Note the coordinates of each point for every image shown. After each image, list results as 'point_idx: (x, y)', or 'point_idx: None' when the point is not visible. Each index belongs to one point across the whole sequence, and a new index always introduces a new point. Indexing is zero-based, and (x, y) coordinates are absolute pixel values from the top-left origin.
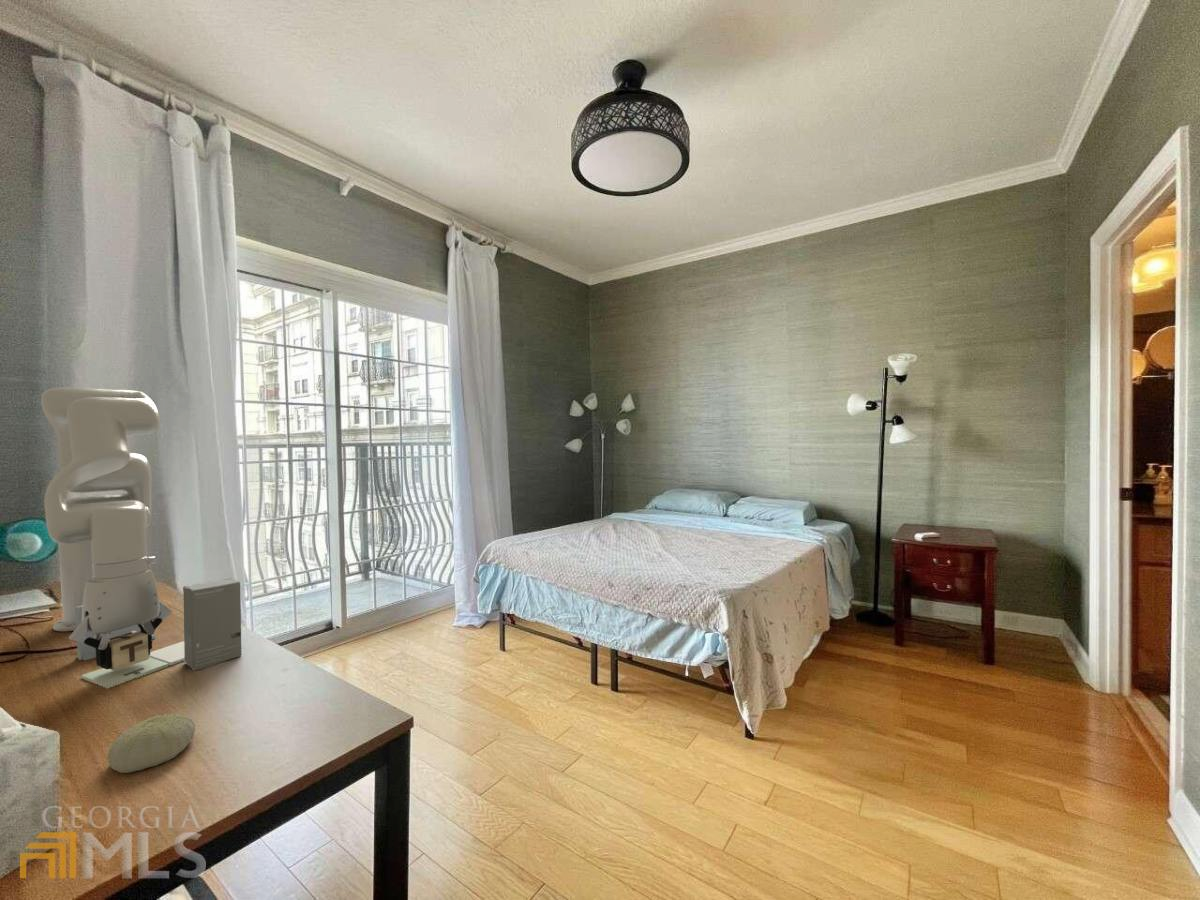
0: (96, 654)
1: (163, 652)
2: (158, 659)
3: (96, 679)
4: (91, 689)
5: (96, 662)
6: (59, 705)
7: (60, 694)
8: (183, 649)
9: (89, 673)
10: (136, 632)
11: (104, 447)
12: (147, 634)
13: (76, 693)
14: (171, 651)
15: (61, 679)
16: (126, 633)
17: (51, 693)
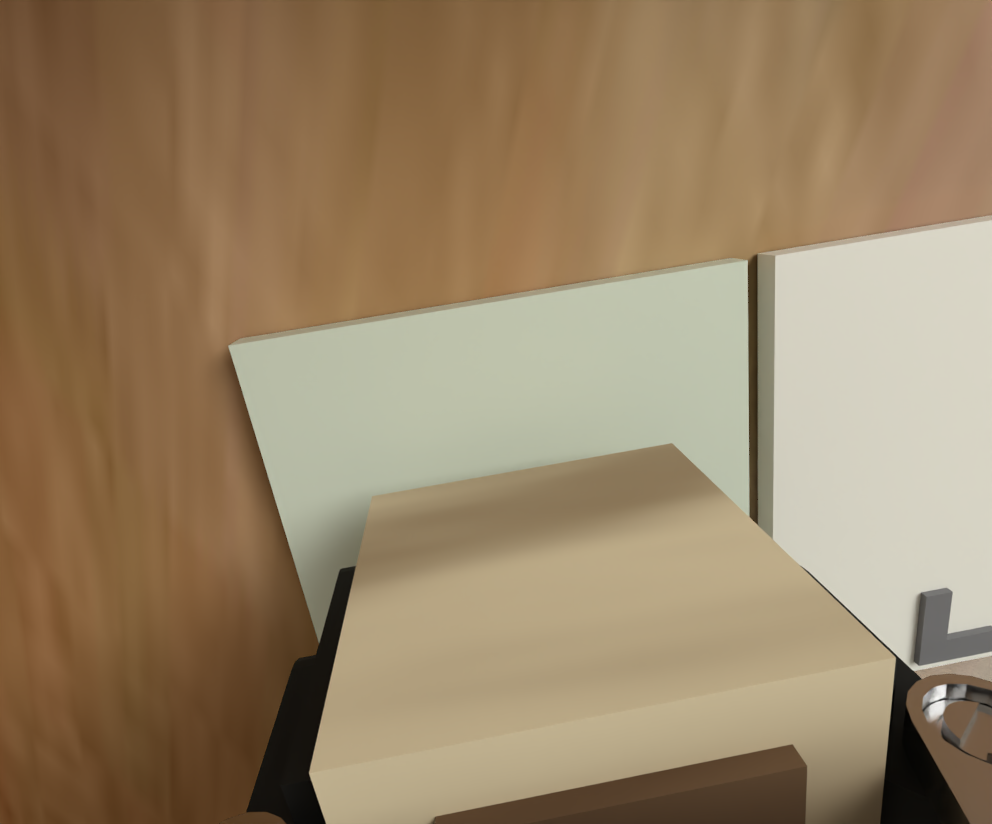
0: (269, 773)
1: (866, 393)
2: (766, 509)
3: (320, 589)
4: (283, 677)
5: (295, 669)
6: (100, 789)
7: (93, 590)
8: (972, 477)
9: (290, 369)
10: (847, 802)
11: None
12: None
13: (194, 668)
14: (907, 435)
15: (76, 157)
16: (722, 815)
17: (27, 503)
